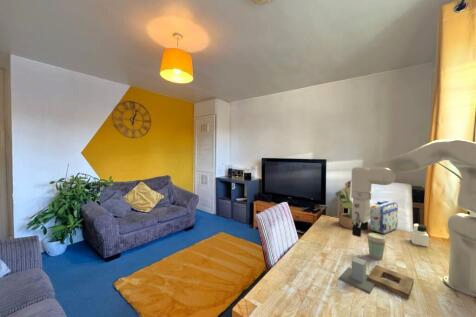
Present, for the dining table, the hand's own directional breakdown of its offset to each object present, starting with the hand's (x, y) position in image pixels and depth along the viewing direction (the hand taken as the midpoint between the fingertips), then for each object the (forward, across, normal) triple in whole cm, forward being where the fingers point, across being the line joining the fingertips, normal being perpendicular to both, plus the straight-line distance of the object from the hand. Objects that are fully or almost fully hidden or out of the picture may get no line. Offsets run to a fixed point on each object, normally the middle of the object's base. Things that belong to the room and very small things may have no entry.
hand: (360, 232), depth 87 cm
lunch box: (+22, +77, +6) cm, 80 cm away
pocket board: (+22, +9, -10) cm, 26 cm away
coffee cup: (+22, +29, 0) cm, 36 cm away
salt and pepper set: (+23, +69, -14) cm, 74 cm away
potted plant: (+22, +65, +26) cm, 73 cm away
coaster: (+22, 0, 0) cm, 22 cm away
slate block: (+21, 0, 0) cm, 21 cm away
